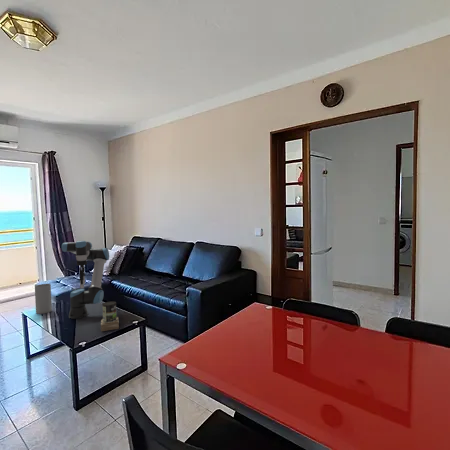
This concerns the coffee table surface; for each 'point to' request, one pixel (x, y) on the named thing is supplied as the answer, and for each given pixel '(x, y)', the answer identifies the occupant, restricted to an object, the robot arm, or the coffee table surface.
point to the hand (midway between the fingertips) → (82, 286)
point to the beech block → (109, 325)
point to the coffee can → (109, 312)
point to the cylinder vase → (43, 298)
